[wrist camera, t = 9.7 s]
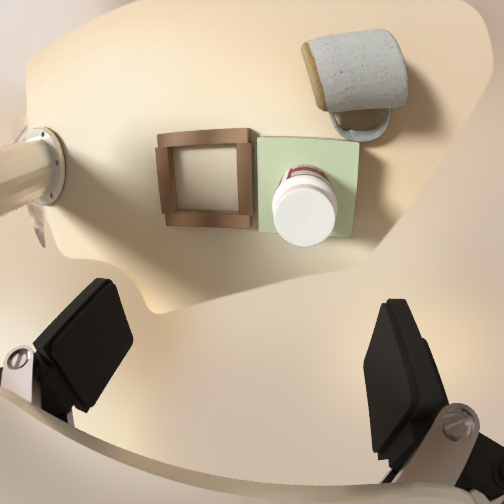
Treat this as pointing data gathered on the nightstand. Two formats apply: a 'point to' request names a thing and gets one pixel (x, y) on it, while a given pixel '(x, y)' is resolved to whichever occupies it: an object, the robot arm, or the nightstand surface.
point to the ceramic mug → (357, 76)
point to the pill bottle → (304, 206)
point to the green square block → (314, 153)
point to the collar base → (243, 174)
